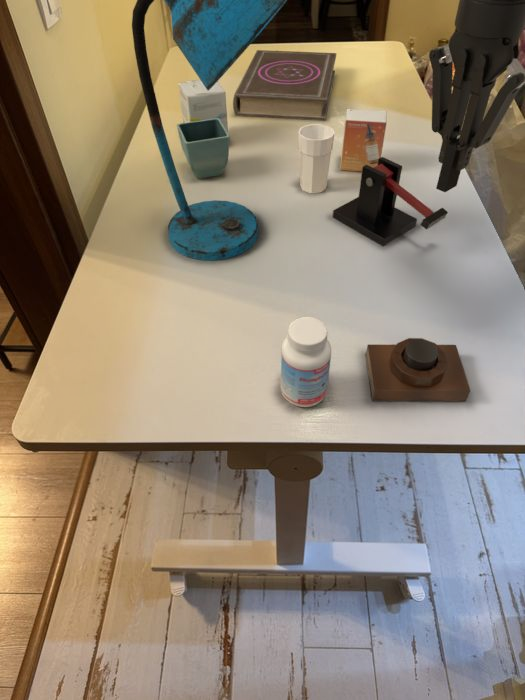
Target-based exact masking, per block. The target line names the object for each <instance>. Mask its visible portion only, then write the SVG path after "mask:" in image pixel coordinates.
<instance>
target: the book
mask: <svg viewBox="0 0 525 700" xmlns="http://www.w3.org/2000/svg"><path fill="white" fill-rule="evenodd" d="M336 59H337V53H336V52H318V51H316V52H315V51H291V50H265V49H264V50H263V49H257V50H256V51H255V53H254V55H253V57H252V59H251V60H250V63H249V65H248V66H247V69H246V71H245V73H244V74H243V77H242V79H241V81H240V83H239V84H238V87H237V89H236V91H235V92H234V95H233V100H232V108H233V112H234V115H235V116H237V117H239V116H240V117H256V118H257V117H258V118H275V119H294V120H310V121H326V119H327V113H328V109H329V105H330V100H331V94H332V89H333V84H334V78H335V75H336V70H335V69H334V68H335V64H336Z"/></svg>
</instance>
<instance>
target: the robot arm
mask: <svg viewBox="0 0 525 700" xmlns="http://www.w3.org/2000/svg"><path fill="white" fill-rule="evenodd" d="M454 27H455V29H454V32H453V33H452V35H451V36H450V38H449V40H448V43H446V44H444V45H441V46H438V47H436V48H432V49H431V50H430V51H429V53H428V57H429V62H430V65H431V69H432V90H431V91H432V92H431V93H432V95H431V130H432V132H433V133H437V134H439V135H440V136H441V146H440V150H439V154H438V163H440V164H441V167H440V170H439V175H438V180H437V183H436V190H439V191H441V192H443V193H447V192H448V191H450V190H452V189H454V188H456V187H457V186H458V182H459V178H460V174H461V171H462V170H464V169H466V168H467V167H468V165H469V164H470V160H471V157H472V153H473V150H474V149H478V148H481V147H482V146H484V145H486V144H488V143H490V141H491V140H492V138H493V136H494V135H495V133H496V132H497V129H498V128H499V126H500V124H501V123H502V121H503V119H504V117H505V115H506V114H507V112H508V110H509V109H510V106H511V105H512V103H513V101H514V100H515V98H516V96H517V94H519V91H520V90H521V89H522V88H523V87H524V86H525V68H524V66H523V65H522V64H521V62H520V61H519V59H518V58H519V56H520V45H519V44H520V43H519V42H520V38H521V37H522V34H523V33H524V29H525V0H459V1H458V6H457V10H456V15H455V19H454ZM453 67H454V74H453ZM505 72H506V74H505V76H504V77H503V80H502V82H503V85H502V86H501V87H500V89H499V90H498V92H497V93H496V95H495V97H494V99H493V101H492V103H491V105H490V106H489V109H487V108H488V107H487V106H488V103H489V99H490V96H491V92H492V90H493V89H494V88H495V86H496V83H497V79H498V78H499V77H500V76H501V75H502V74H503V73H505ZM486 110H487V112H486ZM485 113H486V114H485Z"/></svg>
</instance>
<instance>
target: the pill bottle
mask: <svg viewBox="0 0 525 700" xmlns="http://www.w3.org/2000/svg"><path fill="white" fill-rule="evenodd" d="M328 333H329V332H328V328H327V326H326V324H325V323H324V322H323V321H322V320H320V319H318V318H316V317H311V316H303V317H299V318H297V319H294V320H293V321H292V322H291V323H290V324H289V326H288V329H287V336H286V337H285V339H284V340H283V342H282V344H281V352H280V353H281V355H280V357H281V359H280V392H281V394H282V397H283V398H284V399H285V400H286V401H287V402H288V403H290V404H292V405H294V406H296V407H300V408H310V407H313V406H316V405H318V404H320V403H321V402H322V401H323V400H325V397H326V395H327V393H328V384H329V376H330V367H331V360H332V359H331V358H332V346H331V343H330V341H329V340H328Z"/></svg>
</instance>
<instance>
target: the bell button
mask: <svg viewBox="0 0 525 700" xmlns="http://www.w3.org/2000/svg"><path fill="white" fill-rule="evenodd" d="M422 339H423V338H422ZM422 339H416V340H412V341H410V342H409V343H408V344H407V346H406V349H405V353H404V361H405V363H406V364H407V365H408V366H409V367H410V368H412V369H414V370H417V371H427V370H429V369H431V368H432V367H433V366H434V365H435V362H436V359H437V356H438V350H437V348H436V346H435V345H434V344H432V343H431V342H432V341H430V340H428V341H426V340H427V339H425V340H422ZM429 341H430V342H429Z"/></svg>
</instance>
